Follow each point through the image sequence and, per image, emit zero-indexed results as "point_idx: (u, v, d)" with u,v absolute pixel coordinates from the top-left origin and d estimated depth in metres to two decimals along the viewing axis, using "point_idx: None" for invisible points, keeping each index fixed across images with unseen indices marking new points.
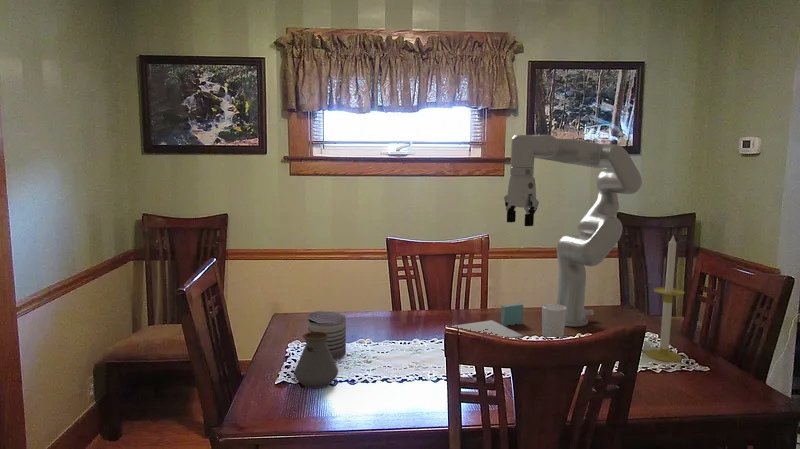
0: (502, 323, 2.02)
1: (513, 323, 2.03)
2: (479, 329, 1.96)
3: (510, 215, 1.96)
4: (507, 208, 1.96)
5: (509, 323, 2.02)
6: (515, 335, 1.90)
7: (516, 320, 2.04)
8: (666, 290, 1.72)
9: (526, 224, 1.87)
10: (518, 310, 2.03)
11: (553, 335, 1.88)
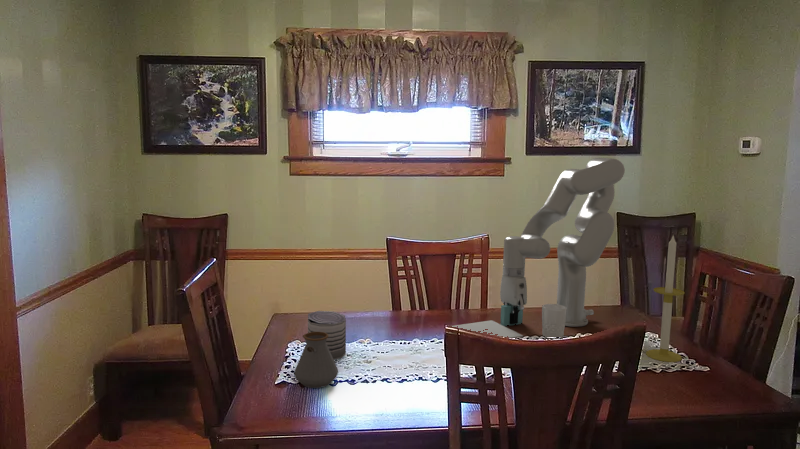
0: (502, 323, 2.02)
1: None
2: (479, 329, 1.96)
3: None
4: None
5: (509, 323, 2.02)
6: (515, 335, 1.90)
7: None
8: (666, 290, 1.72)
9: (511, 322, 2.02)
10: None
11: (553, 335, 1.88)
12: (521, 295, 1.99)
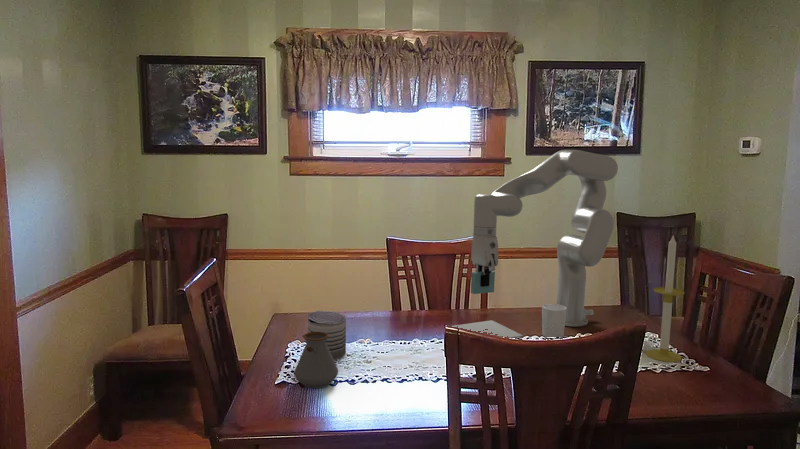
0: (472, 291, 1.92)
1: (484, 291, 1.93)
2: (479, 329, 1.96)
3: None
4: (477, 270, 1.94)
5: (479, 291, 1.93)
6: (515, 335, 1.90)
7: (487, 288, 1.94)
8: (666, 290, 1.72)
9: (482, 285, 1.92)
10: None
11: (553, 335, 1.88)
12: (492, 255, 1.89)
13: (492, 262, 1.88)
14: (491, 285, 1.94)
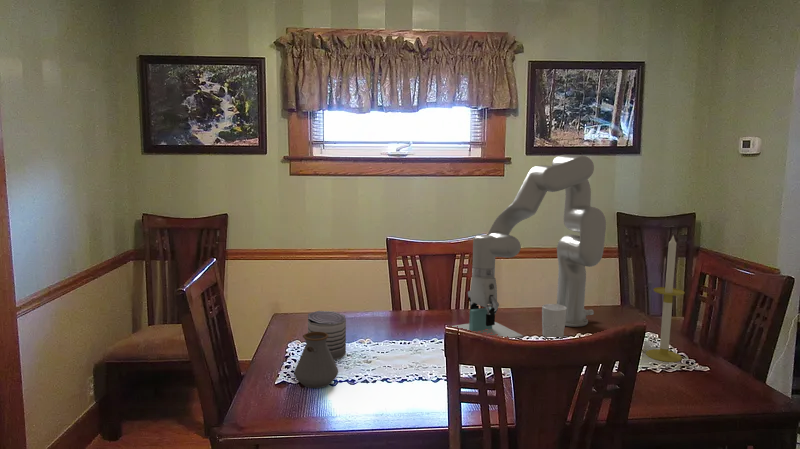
0: (470, 328, 1.94)
1: (482, 328, 1.95)
2: None
3: None
4: (470, 304, 1.99)
5: (478, 328, 1.94)
6: (515, 335, 1.90)
7: (485, 325, 1.96)
8: (666, 290, 1.72)
9: (487, 324, 1.91)
10: None
11: (553, 335, 1.88)
12: None
13: (493, 299, 1.89)
14: None
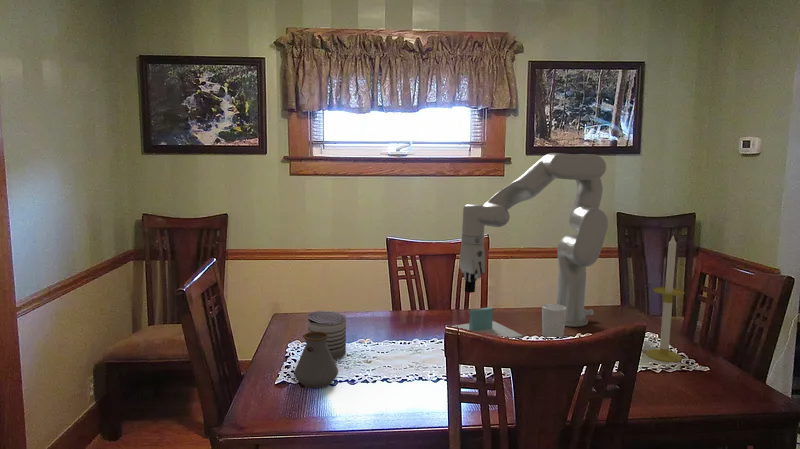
0: (470, 328, 1.94)
1: (482, 328, 1.95)
2: None
3: None
4: (465, 278, 2.01)
5: (478, 328, 1.94)
6: (515, 335, 1.90)
7: (485, 325, 1.96)
8: (666, 290, 1.72)
9: (468, 291, 2.00)
10: (487, 314, 1.95)
11: (553, 335, 1.88)
12: (479, 263, 1.96)
13: (478, 270, 1.95)
14: (489, 322, 1.96)
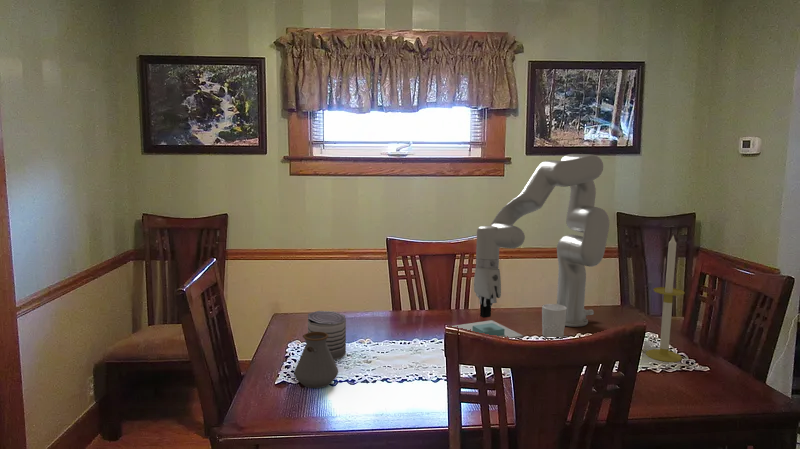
0: (473, 329, 1.93)
1: None
2: None
3: None
4: (480, 302, 1.93)
5: None
6: (515, 335, 1.90)
7: None
8: (666, 290, 1.72)
9: (483, 316, 1.92)
10: None
11: (553, 335, 1.88)
12: (495, 288, 1.88)
13: (494, 295, 1.88)
14: None
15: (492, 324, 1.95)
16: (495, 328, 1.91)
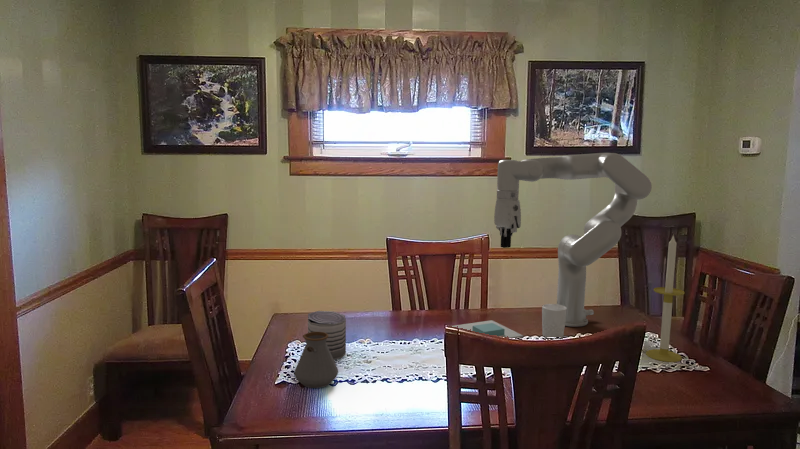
0: (473, 329, 1.93)
1: None
2: None
3: None
4: (501, 233, 2.03)
5: None
6: (515, 335, 1.90)
7: None
8: (666, 290, 1.72)
9: (504, 246, 2.02)
10: None
11: (553, 335, 1.88)
12: (515, 218, 1.98)
13: (514, 224, 1.98)
14: None
15: (492, 324, 1.95)
16: (495, 328, 1.91)
